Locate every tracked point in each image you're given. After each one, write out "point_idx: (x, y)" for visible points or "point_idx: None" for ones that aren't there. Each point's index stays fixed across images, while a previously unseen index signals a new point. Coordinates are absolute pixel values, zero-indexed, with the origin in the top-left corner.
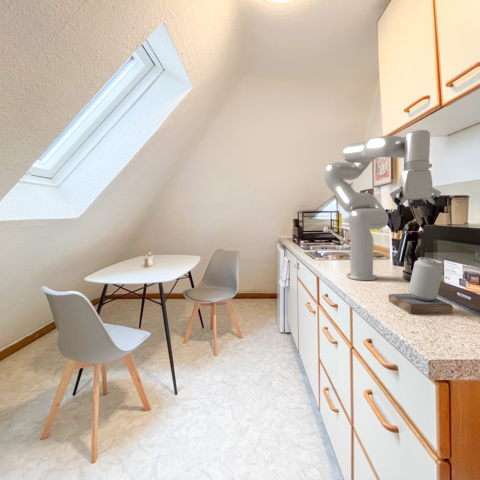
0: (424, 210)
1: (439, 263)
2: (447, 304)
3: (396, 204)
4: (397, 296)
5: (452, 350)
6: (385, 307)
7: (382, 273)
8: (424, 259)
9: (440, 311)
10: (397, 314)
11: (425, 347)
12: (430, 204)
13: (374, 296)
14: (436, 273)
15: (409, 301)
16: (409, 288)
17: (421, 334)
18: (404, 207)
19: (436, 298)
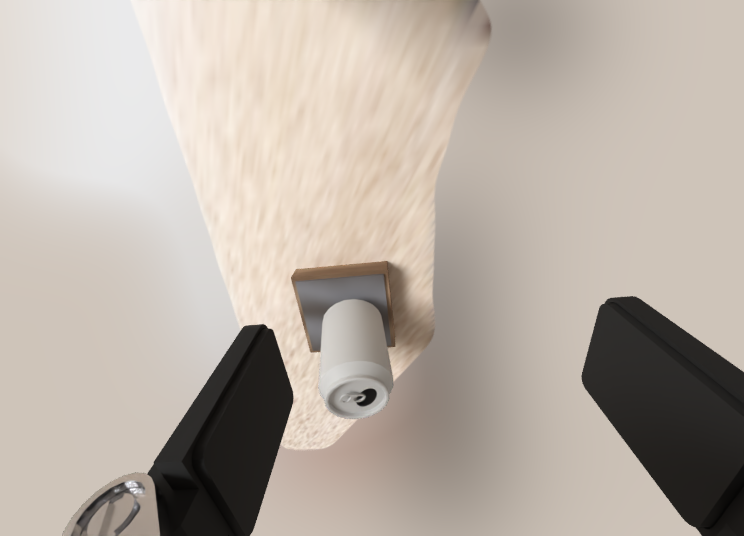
0: (652, 347)
1: (368, 415)
2: (387, 344)
3: (111, 503)
4: (303, 301)
5: (315, 437)
6: (277, 308)
7: None
8: (340, 401)
9: None
10: (289, 343)
11: (288, 432)
12: (712, 533)
13: (270, 227)
14: (360, 396)
15: (316, 334)
16: (322, 325)
17: (297, 406)
18: (260, 499)
19: (386, 314)
